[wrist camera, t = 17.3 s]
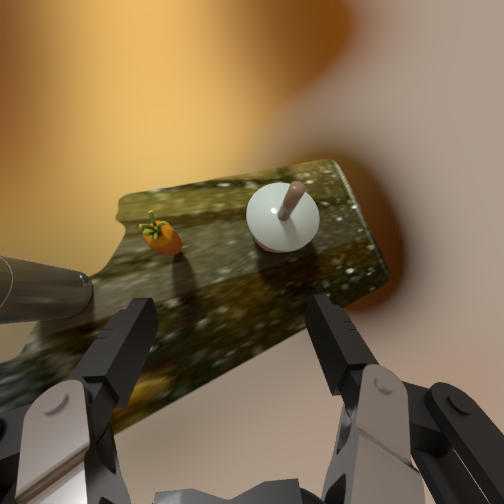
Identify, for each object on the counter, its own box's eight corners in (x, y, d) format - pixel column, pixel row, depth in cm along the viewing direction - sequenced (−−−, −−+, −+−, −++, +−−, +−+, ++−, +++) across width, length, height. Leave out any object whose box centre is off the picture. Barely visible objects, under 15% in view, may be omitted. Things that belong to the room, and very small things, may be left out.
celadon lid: (261, 262, 35) (270, 246, 25) (236, 196, 38) (236, 160, 28) (328, 239, 37) (360, 217, 28) (300, 179, 40) (320, 140, 31)
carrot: (174, 236, 42) (141, 201, 28) (194, 246, 42) (171, 216, 28) (161, 255, 41) (119, 229, 26) (181, 266, 41) (150, 245, 26)
